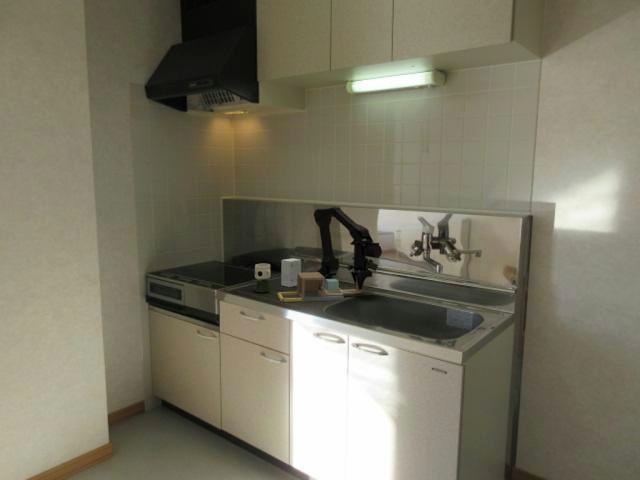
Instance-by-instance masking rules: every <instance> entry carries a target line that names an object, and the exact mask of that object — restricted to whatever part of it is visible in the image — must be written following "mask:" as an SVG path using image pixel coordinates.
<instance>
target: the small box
mask: <svg viewBox="0 0 640 480" xmlns="http://www.w3.org/2000/svg"><path fill="white" fill-rule="evenodd" d="M280 273H281V275H280V276H281V278H280V279H281V284H280V285H281V286H284V287H289V288H292V287H294V286H295V287H297V273H302V259H299V258H286V259H281V272H280Z"/></svg>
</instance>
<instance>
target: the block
mask: <svg viewBox="0 0 640 480" xmlns="http://www.w3.org/2000/svg"><path fill="white" fill-rule="evenodd" d="M339 283H340V282H339V280H338V279H337V278H333V279H325V290H326V291H333V290H338V289H339V288H340V287H339V285H340V284H339Z"/></svg>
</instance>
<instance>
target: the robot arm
mask: <svg viewBox="0 0 640 480" xmlns="http://www.w3.org/2000/svg"><path fill="white" fill-rule="evenodd" d="M313 218H314V221H315V222H314V223H316V225H317V226H318V228H319V235H320V236H319V237H320V242H321V249H322V259H321V262H320V263H321V265H320V266H321V267H320V268H319V269H318V270H317V272H319V273H320V274H321V275H322V276H324V277H325V279H334V278H333V277H334V276H337V274H338V271H339V270H340V268H339V267H340V266H341V265H340V263H339V261H340V260H339V258H338V257H336V256H335V255H334V249H333V243H332V235H331V228H330V227H331V226H330V225H331V223H332V218H334V219H336V220H337V221H338V222H339V223H340V224H341V225H342V226H343V227H345V228H346V230H348V233H349V235H350V237H351V238H352V239H353V240H352V241H350V246H351V245H352V246H353V256H351V257H352V260H353V263H349V264H347V266H346V268H347V271H350V272H349V273H350V275H351V278H352V280H353V283H354V285H355V287H356V281H357V285H358V288H359V290H361V289H363V286H364V283H365V280H366V279H367V278H373V272H372V271H374V272H377V270H378V267H379V264H376V263H375V262H373V261H374V260H373V259H370V258H375V259H380V257H381V256H382V252H383V249H382V247H381V245H380V242H374V240H373V238H372V236H371V234H370V231H369V230H368V228H367V227H364V226H363V225H361V224H358V223H356V221H354V219H352V218H351V217H350V216H349V215H348V214H347V213H345V212H344V211H343V210H342V209H341V208H340V207H337V206H332V207H330V208H316V209H315V210H314V212H313ZM367 257H368V258H369V259H368V258H367ZM321 287H322V280H320V285H319V289H320V290H321Z"/></svg>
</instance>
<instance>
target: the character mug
mask: <svg viewBox="0 0 640 480" xmlns="http://www.w3.org/2000/svg"><path fill="white" fill-rule="evenodd" d="M271 276H272V275H271V264H270V263H257V264H255V265H254V277H255V279H257V280H256V285H255V292H256V293H257V292H258V293H263V294H264V293H266V292H269V291H270V284H269V279H270V278H271Z"/></svg>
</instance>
